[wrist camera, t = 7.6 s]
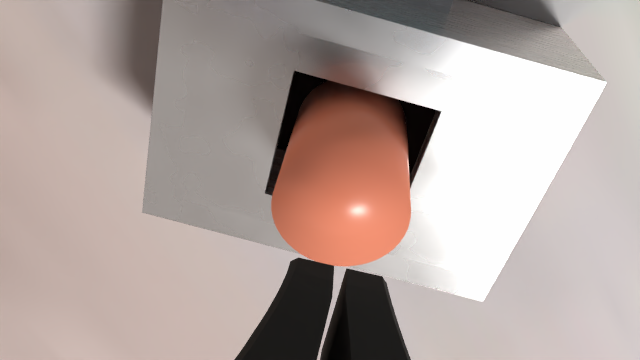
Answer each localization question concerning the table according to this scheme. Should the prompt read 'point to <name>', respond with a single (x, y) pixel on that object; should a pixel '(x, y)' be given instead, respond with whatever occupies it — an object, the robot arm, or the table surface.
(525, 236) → the table surface
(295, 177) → the push button
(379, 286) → the robot arm
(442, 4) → the rail
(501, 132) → the block with square hole
